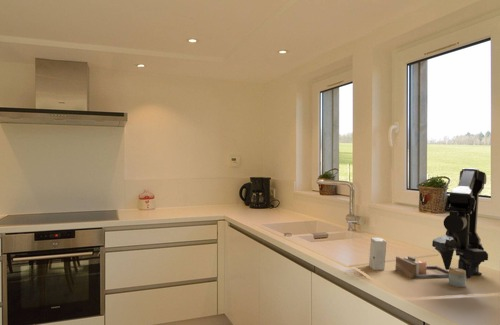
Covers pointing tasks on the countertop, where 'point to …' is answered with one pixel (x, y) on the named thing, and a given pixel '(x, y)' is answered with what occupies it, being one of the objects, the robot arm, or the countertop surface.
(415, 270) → the pusher
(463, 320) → the countertop surface
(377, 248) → the skincare box
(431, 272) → the lane
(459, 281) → the slate jar
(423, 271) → the jar
